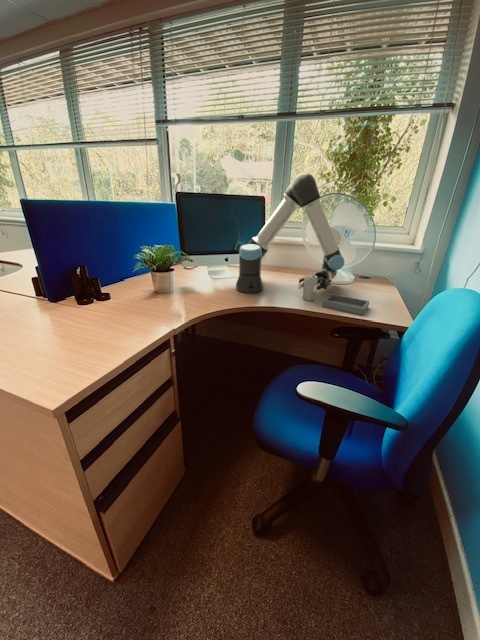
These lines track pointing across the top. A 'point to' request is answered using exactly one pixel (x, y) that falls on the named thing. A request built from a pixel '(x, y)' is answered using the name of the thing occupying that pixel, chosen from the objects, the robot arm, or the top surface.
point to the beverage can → (309, 287)
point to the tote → (346, 304)
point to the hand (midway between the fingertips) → (306, 288)
